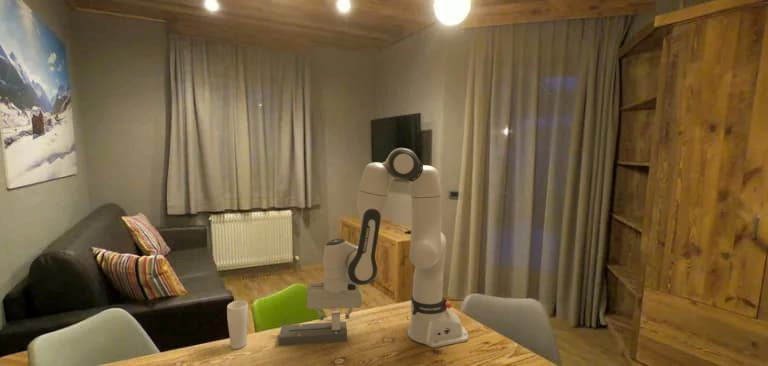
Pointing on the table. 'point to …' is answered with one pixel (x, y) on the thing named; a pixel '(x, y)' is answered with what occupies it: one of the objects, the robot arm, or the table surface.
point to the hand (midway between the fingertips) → (334, 318)
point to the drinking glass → (237, 323)
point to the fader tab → (335, 320)
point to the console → (311, 333)
